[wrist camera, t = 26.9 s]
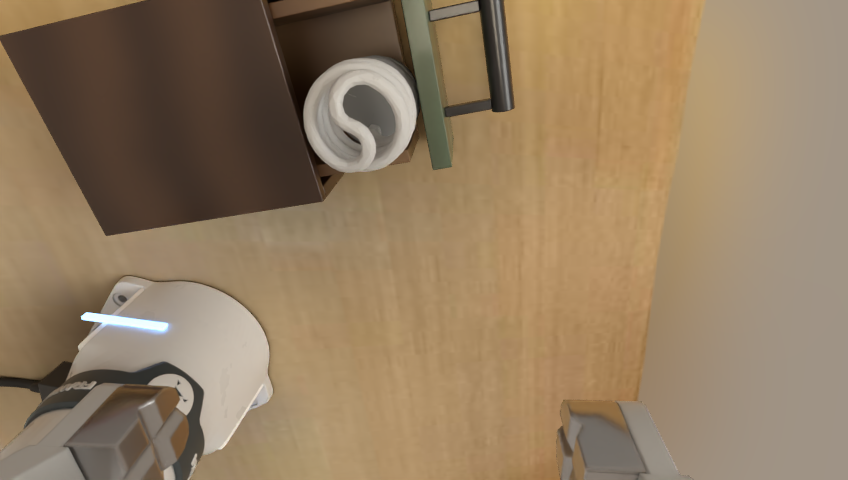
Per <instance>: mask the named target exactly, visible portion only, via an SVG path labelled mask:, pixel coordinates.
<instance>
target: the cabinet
mask: <svg viewBox="0 0 848 480" xmlns="http://www.w3.org/2000/svg"><path fill="white" fill-rule="evenodd" d="M277 1H281V0H145V1H141V2H137V3H133V4H129V5H125V6H121V7H117V8H112V9H108V10H104V11H100V12H96V13H92V14H88V15H84V16H79V17H75V18H71V19H67V20H63V21H59V22H55V23H51V24H47V25H42V26H38V27H34V28H30V29H26V30H22V31H18V32H14V33H9V34H5V35H1V36H0V41H1V43H2V45H3V47H4V49H5V50H6V52H7V54H8V56H9V58H10V60H11V62H12V63H13V65H14V67H15V69H16V71H17V73H18V74H19V76H20V78H21V80H22V82H23V84H24V86H25V87H26V89H27V91H28V93H29V95H30V97H31V98H32V100H33V102H34V104H35V106H36V108H37V110H38V111H39V113H40V115H41V117H42V119H43V121H44V122H45V124H46V126H47V128H48V130H49V132H50V134H51V135H52V137H53V139H54V141H55V143H56V145H57V146H58V148H59V150H60V152H61V154H62V156H63V158H64V159H65V161H66V163H67V165H68V167H69V169H70V170H71V172H72V174H73V176H74V178H75V180H76V182H77V183H78V185H79V187H80V189H81V191H82V193H83V194H84V196H85V198H86V200H87V202H88V204H89V206H90V207H91V209H92V211H93V213H94V215H95V217H96V218H97V220H98V222H99V224H100V226H101V228H102V229H103V231H104V233H105V235H106V236H109V235H115V234H122V233H128V232H134V231H141V230H147V229H153V228H159V227H166V226H172V225H178V224H185V223H191V222H197V221H203V220H210V219H216V218H222V217H229V216H235V215H241V214H247V213H254V212H260V211H266V210H273V209H279V208H285V207H291V206H298V205H304V204H310V203H317V202H322V201H324V199H325V198H326V197H327V196H328V194H329V193H330V192H331V190H332V189H333V188H334V186H335V185H336V184H337V182H338V181H339V180H340V178H341V177H342V176H343V174H344V173H340V174H334V175H329V176H323V177H320V175H319V172H318V169H317V165H316V162H315V159H314V155H313V152H312V149H311V145H310V143H309V141H308V138H307V135H306V132H305V129H304V122H303V119H302V115H301V112H300V109H299V105H298V102H297V99H296V95H295V92H294V89H293V85H292V82H291V79H290V75H289V72H288V69H287V65H286V62H285V59H284V55H283V52H282V49H281V45H280V42H279V39H278V35H277V32H276V29H275V25H274V22H273V19H272V15H271V12H270V9H269V5H268V3H272V2H277Z"/></svg>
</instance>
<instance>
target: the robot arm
mask: <svg viewBox="0 0 848 480" xmlns="http://www.w3.org/2000/svg"><path fill="white" fill-rule="evenodd" d="M81 319H82V320H88V321H95V323H94V325H93V327H92V329H91V331H90V332H89V334H88V336H87V337H86V338H85V339H84V340H83V341H82V342H81V343H80V344H79V345H78V349H79V353H78V354H77V356H76V357H75V359H74V361H73V363H70V362H65V361H64V362H62V363H61V364H60V365H59V366H58V367H57V368H55V369H54V370H53V371H52V372H51V373H50V374H48V375H47V376H46V377H45V378H44V379H43V380H41V381H34V380H26V379H17V378H0V386H7V387H20V388H28V389H30V390H31V391H33V392H37V393H40V394H41V399H42V402H41V403H40V404H39V406H38V407H37V409H36V410H35V411H34V412H33V413H32V414H31V415H30V417H29V418H28V419H27V421H26V423H25V425H24V430H23V431H21V432H20V433H19V434H18V435H17V436H16V437H15V438H14V439H13V440H12V441H11V442H10V443H9V444H8V445H7V446H5V447H4V448H3V449H2V450H1V451H0V480H189V479H190V477H191V476H192V474H193V472H194V470H195V467H196V465H197V463H198V461H199V460H200V458H201V456H202V455H207V454H210V453H212V452H214V451H216V450H221V449H222V448H223V447H224V446H225V445H226V444H227V443H228V441H229V440H230V438H231V436H232V435H233V433H234V432H235V430H236V429H237V427H238V425H239V424H240V422H241V421H242V419H243V418H244V416H245V414H246V413H247V411H249V410H251V409H254V408H256V407H259V406H261V405H263V404H265V403H267V402H268V401H269V399H270V398H271V396H272V395H273V388H272V384H271V382H270V379H269V376H268V365H269V357H270V353H269V345H268V341H267V338H266V336H265V333H264V331H263V329H262V327H261V326H260V324H259V323H258V321H257V320H256V319H255V317H254V316H253V315H252V314H251V313H250V312H249V311H248V310H247V309H246V308H245V307H244V306H243V305H241V304H240V303H239V302H238V301H236V300H235V299H233V298H232V297H230V296H228V295H227V294H225V293H223V292H221V291H219V290H217V289H214V288H212V287H209V286H206V285H202V284H198V283H193V282H186V281H172V282H153V281H149V280H146V279H142V278H138V277H133V276H125V277H123V278H121V279H120V280H119V281H118V282H117V283H116V284H115V286H114V288H113V290H112V291H111V293H110V295H109V297H108V299H107V301H106V303H105V304H104V306H103V308H102V310H101V312H100V314H95V313H87V312H86V313H85V314H84V315H83V316H81ZM560 416H561V421H562V425H563V426H561V427H560V428H559V429H558V430H557V439H556V457H557V464H558V470H559V475H560V480H693V479H692V478H691V477H690V476H684V475H680V474H679V472H678V470H677V468H676V466H675V464H674V462H673V459H672V457H671V456H670V453H669V451H668V449H667V447H666V445H665V443H664V441H663V439H662V437H661V435H660V433H659V431H658V429H657V427H656V425H655V423H654V421H653V419H652V417H651V415H650V413H649V411H648V409H647V407H646V405H645V404H643V403H642V402H640V401H600V400H563V402H562V404H561V410H560Z"/></svg>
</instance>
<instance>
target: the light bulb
mask: <svg viewBox="0 0 848 480" xmlns="http://www.w3.org/2000/svg"><path fill="white" fill-rule="evenodd" d="M419 112H420V99H419V93H418V88H417V83H416V80H415V78H414V76H413V75H412V73H411V71H410V70H409V69H408V68H407V67H406V66H405V65H404V64H402V63H401V62H400V61H397V60H395V59H393V58H390V57H384V56H378V55H373V56H366V57H360V58H354V59H349V60H344V61H342V62H339V63H337V64H335V65H333V66H332V67H330V68H329V69H328V70H327V71H325V72H324V73H323V74H322V75H320V77H319V78H318V79H317V80H316V81H315V82H314V83H313V85H312V87H311V88H310V90H309V92H308V95H307V97H306V100H305V104H304V111H303V118H304V129H305V132H306V135H307V138H308V141H309V143H310V145H311V146H312V148H313V150H314V151H315V153H316V154H317V155H318V156H319V157H320V158H321V159H322V160H323V161H324V162H325V163H326V164H328V165H329V166H330V167H332V168H334V169H336V170H338V171H340V172H346V173H352V172H358V171H360V172H369V171H374V170H377V169H381V168H384V167H386V166H387V165H389V164H391V163H392V162H393V161H394V160H395V159H396V158H398V156H399V155H400V154H401V153H402V152H403V151H404V150H405V148H406V147H407V146H408V144H409V141H410V139H411V137H412V134H413V131H414V129H415V124H416V120H417V117H418V115H419ZM343 131H346V132H347V133H348V134H349V135H350V136H351V137H352V138H354V139H355V140H357V141H358V142H360V143H361V145H360V144H358V143H355V142H354V141H352V140H351V139H350V138H349V137H348V136H347V135H346V134H345V133H344V132H343Z"/></svg>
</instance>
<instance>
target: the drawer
mask: <svg viewBox="0 0 848 480" xmlns="http://www.w3.org/2000/svg"><path fill="white" fill-rule="evenodd" d="M401 3H402V8H403V14H404V19H405V24H406V30H407V35H408V40H409V46H410V51H411V56H412V62H413V67H414V72H415V78H416V83H417V88H418V93H419V99H420V104H421V109H422V115H423V120H424V125H425V131H426V136H427V141H428V147H429V152H430V157H431V163H432V168H433V170H437V169H443V168H449V167H452V157H453V139H454V138H453V132H452V126H451V120H450V117H451V116H457V115H462V114H468V113H473V112H479V111H484V110H490V109H492V111H493V112H505V111H509V110H512V109H514V108H515V105H514V95H513V85H512V76H511V66H510V56H509V46H508V37H507V27H506V17H505V7H504V0H475V1H470V2H466V3H461V4H456V5H452V6H447V7H443V8H438V9H432V3H431V0H401ZM268 5H269V9H270V12H271V15H272V19H273V22H274V25H275V29H276V32H277V35H278V39H279V42H280V45H281V49H282V52H283V55H284V59H285V62H286V65H287V69H288V72H289V75H290V79H291V82H292V85H293V89H294V92H295V95H296V99H297V102H298V105H299V109H300V112H301V115H302V119H303V122H304V118H303V111H304V104H305V100H306V97H307V95H308V92H309V90H310V88H311V87H312V85H313V83H314V82H315V81H316V80H317V79H318V78H319V77H320V75H322V74H323V73H324V72H325V71H327V70H328V69H329V68H330V67H332V66H333V65H335V64H337V63H339V62H342V61H344V60H349V59H354V58H360V57H366V56H373V55H378V56H384V57H390V58H393V59H395V60H397V61H400V62H401V63H402V64H404V65H405V61H404V56H403V51H402V46H401V41H400V36H399V31H398V26H397V20H396V15H395V10H394V5H393V0H281V1H277V2H272V3H268ZM479 11H480V17H481V25H482V33H483V41H484V50H485V58H486V66H487V74H488V82H489V90H490V98H491V99H490V98H488V99H483V100H477V101H472V102H466V103H461V104H456V105H450V106H448V101H447V95H446V89H445V83H444V77H443V71H442V65H441V59H440V52H439V46H438V40H437V34H436V28H435V22H434V21H438V20H442V19H447V18H452V17H456V16H461V15H466V14H471V13H475V12H479ZM343 132H344V133H345V134H346V135H347V136H348V137H349V138H350V139H351V140H352V141H354V142H355V143H358V144H360V145H361V143H360V142H358V141H357V140H355V139H354V138H352V137H351V136H350V135H349V134H348V133H347V132H346V131H343ZM418 137H419V133H418V128H417V123H416V124H415V129H414V131H413V134H412V137H411V139H410V141H409V144H408V146H407V147H406V148H405V150H404V151H403V152H402V153H401V154H400V155H399V156H398V158H396V159H395V160H394V161H393V162H392V163H391V164H389V165H394V164H400V163H406V162H410V160H411V158H412V155H413V152H414V149H415V146H416V144H417V141H418ZM311 149H312V152H313V155H314V159H315V162H316V165H317V169H318V172H319V175H320V177H323V176H329V175H334V174H340V173H346V172H340V171H338V170H336V169H334V168H332V167H330V166H329V165H328V164H326V163H325V162H324V161H323V160H322V159H321V158H320V157H319V156H318V155H317V154H316V153H315V151H314V150H313V148H312V146H311ZM387 166H388V165H387Z"/></svg>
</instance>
